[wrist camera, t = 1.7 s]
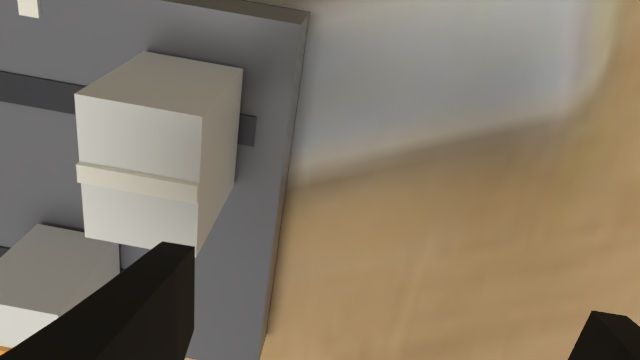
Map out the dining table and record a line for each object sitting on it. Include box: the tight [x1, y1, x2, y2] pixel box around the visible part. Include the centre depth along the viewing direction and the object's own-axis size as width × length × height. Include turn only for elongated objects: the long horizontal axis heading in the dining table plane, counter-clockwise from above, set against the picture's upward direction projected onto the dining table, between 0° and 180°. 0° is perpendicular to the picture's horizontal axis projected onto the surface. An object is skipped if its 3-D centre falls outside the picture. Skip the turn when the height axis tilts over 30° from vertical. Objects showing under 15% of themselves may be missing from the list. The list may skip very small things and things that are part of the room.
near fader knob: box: [74, 51, 243, 258], centre depth 15 cm, size 3×4×4 cm
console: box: [0, 0, 310, 360], centre depth 19 cm, size 17×14×2 cm
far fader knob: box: [0, 224, 120, 355], centre depth 18 cm, size 3×4×4 cm
